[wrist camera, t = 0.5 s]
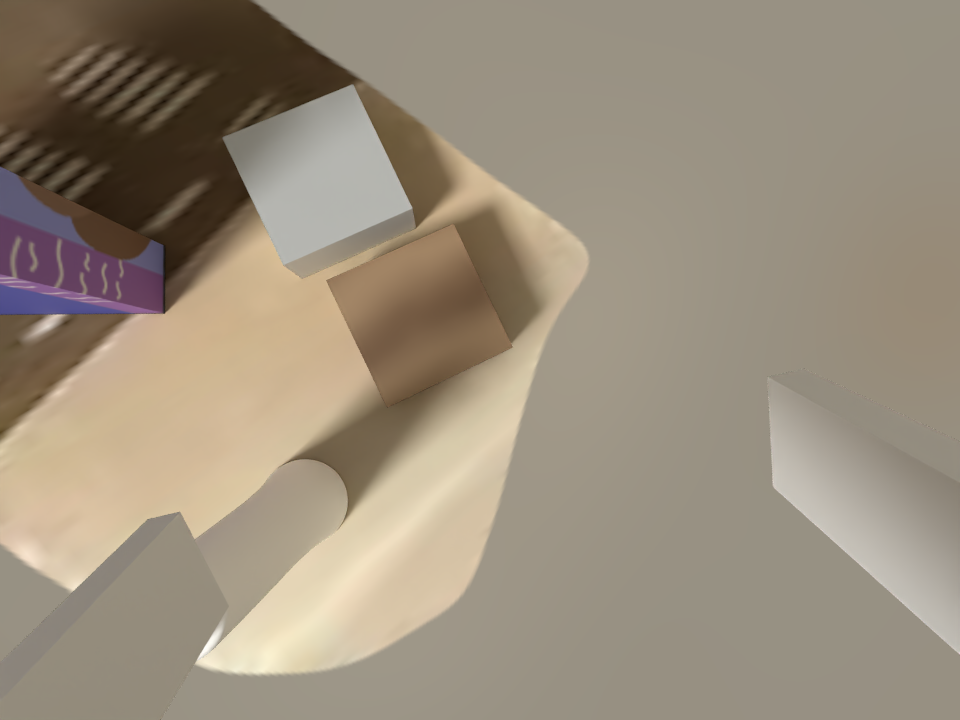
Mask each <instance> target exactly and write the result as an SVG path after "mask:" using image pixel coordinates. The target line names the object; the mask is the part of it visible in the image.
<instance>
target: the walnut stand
mask: <svg viewBox="0 0 960 720" xmlns="http://www.w3.org/2000/svg"><path fill="white" fill-rule="evenodd" d="M326 281H327V283H328V285H329V287H330V290H331V292H332V294H333V296H334V298H335V300H336V302H337V304H338V306H339V308H340V310H341V312H342V315H343V317H344V319H345V321H346V323H347V325H348V327H349V329H350V331H351V333H352V335H353V338H354V340H355V342H356V344H357V346H358V348H359V350H360V352H361V354H362V356H363V358H364V361H365V363H366V365H367V367H368V369H369V371H370V373H371V375H372V377H373V379H374V381H375V383H376V386H377V388H378V390H379V392H380V394H381V396H382V398H383V400H384V402H385V404H386V406H387V407H390V406H392V405H394V404H396V403H398V402H400V401H402V400H404V399H406V398H408V397H410V396H412V395H415V394H417V393H419V392H421V391H423V390H425V389H427V388H429V387H431V386H433V385H435V384H437V383H440V382H442V381H444V380H446V379H448V378H450V377H452V376H454V375H456V374H458V373H460V372H462V371H465V370H467V369H469V368H471V367H473V366H475V365H477V364H479V363H481V362H483V361H485V360H487V359H490V358H492V357H494V356H496V355H498V354H500V353H502V352H504V351H506V350H508V349H510V348H512V344H511V342H510V340H509V338H508V336H507V334H506V332H505V330H504V328H503V326H502V324H501V322H500V319H499V317H498V315H497V313H496V311H495V309H494V307H493V305H492V303H491V301H490V299H489V297H488V294H487V292H486V290H485V288H484V286H483V284H482V282H481V280H480V278H479V276H478V274H477V272H476V269H475V267H474V265H473V263H472V261H471V259H470V257H469V255H468V253H467V251H466V249H465V247H464V244H463V242H462V240H461V238H460V236H459V234H458V232H457V230H456V228H455V226H454V224H452V225H449V226H447V227H445V228H443V229H440V230H438V231H436V232H434V233H431V234H429V235H427V236H425V237H422V238H420V239H418V240H416V241H414V242H411V243H409V244H407V245H405V246H402V247H400V248H398V249H396V250H393V251H391V252H389V253H387V254H384V255H382V256H380V257H378V258H375V259H373V260H371V261H369V262H367V263H364V264H362V265H360V266H358V267H355V268H353V269H351V270H349V271H346V272H344V273H342V274H340V275H337V276H335V277H333V278H331V279H328V280H326Z"/></svg>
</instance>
